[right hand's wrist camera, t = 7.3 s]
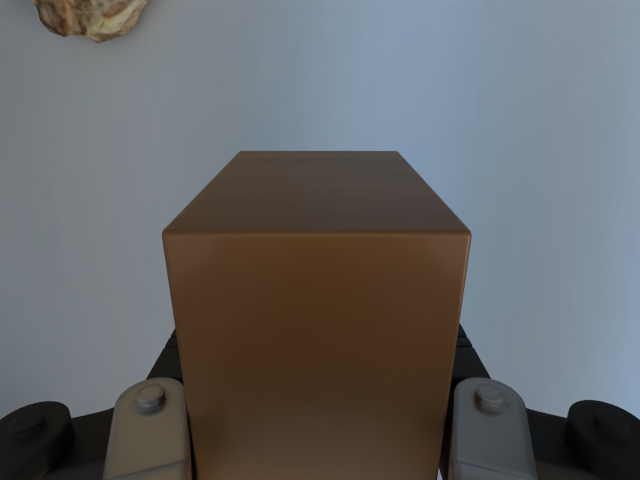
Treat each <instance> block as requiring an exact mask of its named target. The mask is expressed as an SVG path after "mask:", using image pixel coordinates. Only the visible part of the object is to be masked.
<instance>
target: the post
mask: <svg viewBox="0 0 640 480" xmlns="http://www.w3.org/2000/svg"><path fill="white" fill-rule="evenodd" d="M471 237H472V234H471V231H470V230H469V229H468V228H467V227H466V226H465V225H464V223H463V222H462V221H461V220H460V219H459V218H458V217H457V216H456V215H455V214H454V213H453V211H452V210H451V209H450V208H449V207H448V206H447V205H446V204H445V203H444V202H443V201H442V199H441V198H440V197H439V196H438V195H437V194H436V193H435V192H434V191H433V190H432V188H431V187H430V186H429V185H428V184H427V183H426V182H425V181H424V180H423V179H422V178H421V176H420V175H419V174H418V173H417V172H416V171H415V170H414V169H413V168H412V167H411V166H410V164H409V163H408V162H407V161H406V160H405V159H404V158H403V157H402V156H401V155H400V154H399V152H397V151H240V152H239V153H238V154H237V155H236V156H235V157H234V158H233V159H232V160H231V161H230V162H229V163H228V164H227V165H226V166H225V167H224V168H223V169H222V170H221V171H220V172H219V173H218V174H217V175H216V176H215V177H214V179H213V180H212V181H211V182H210V183H209V184H208V185H207V186H206V187H205V188H204V189H203V190H202V191H201V192H200V193H199V194H198V195H197V196H196V197H195V198H194V199H193V200H192V201H191V202H190V203H189V204H188V205H187V206H186V207H185V208H184V210H183V211H182V212H181V213H180V214H179V215H178V216H177V217H176V218H175V219H174V220H173V221H172V222H171V223H170V224H169V225H168V226H167V227H166V228H165V229H164V230H163V232H162V240H163V247H164V254H165V260H166V267H167V274H168V281H169V287H170V294H171V301H172V308H173V315H174V321H175V328H176V335H177V342H178V348H179V355H180V362H181V369H182V376H183V382H184V389H185V396H186V403H187V409H188V416H189V423H190V430H191V437H192V443H193V450H194V457H195V464H196V470H197V477H198V480H437V476H438V469H439V462H440V455H441V448H442V441H443V433H444V426H445V419H446V412H447V405H448V398H449V391H450V384H451V377H452V370H453V363H454V356H455V349H456V342H457V335H458V328H459V321H460V314H461V307H462V300H463V293H464V286H465V279H466V272H467V265H468V258H469V251H470V244H471Z"/></svg>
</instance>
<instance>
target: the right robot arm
mask: <svg viewBox="0 0 640 480" xmlns="http://www.w3.org/2000/svg"><path fill="white" fill-rule="evenodd" d="M439 469H440V473H441V476H442V480H640V420H639V419H638V418H637V417H635V416H634V415H632V414H631V413H629V412H627V411H625V410H623V409H621V408H619V407H617V406H614V405H612V404H609V403H605V402H601V401H595V400H583V401H578V402H576V403H574V404H573V405H572V406H571V407H570V409H569V412H568V416H567V418H564V417H560V416H555V415H551V414H547V413H542V412H538V411H534V410H530V409H528V408H526V407H525V403H524V401H523V399H522V398H521V397H520V395H519V394H518V393H517V392H516V391H514V390H513V389H512V388H510V387H509V386H507V385H505V384H503V383H501V382H499V381H496V380H492V379H491V378H490V376H489V374H488V372H487V371H486V369H485V367H484V365H483V364H482V362H481V360H480V358H479V356H478V355H477V353H476V351H475V349H474V348H472V344H471V342H470V340H469V339H468V338H467V335H466V333H465V332H464V330H463V328H462V326H461V324H460V323H459V328H458V335H457V342H456V349H455V356H454V363H453V370H452V377H451V384H450V391H449V398H448V405H447V412H446V419H445V426H444V433H443V441H442V448H441V455H440V462H439ZM0 480H198V477H197V470H196V464H195V457H194V450H193V443H192V437H191V430H190V423H189V416H188V409H187V403H186V396H185V389H184V382H183V376H182V369H181V362H180V355H179V348H178V342H177V335H176V328H175V330H174V331H173V333H172V335H171V338H169V340H168V342H167V344H166V345H165V348H164V349H163V351H162V352H161V354H160V356H159V358H158V359H157V361H156V363H155V365H154V366H153V368H152V370H151V371H150V373H149V375H148V377H147V378H146V380H144V381H141V382H139V383H137V384H135V385H133V386H131V387H130V388H128V389H127V390H126V391H124V392H123V393H122V394H121V395H120V397H119V398H118V400H117V401H116V404H115V407H114V408H111V409H108V410H105V411H101V412H97V413H93V414H89V415H84V416H80V417H75V418H71V415H70V412H69V409H68V408H67V406H65V405H64V404H62V403H59V402H54V401H46V402H39V403H34V404H31V405H27V406H25V407H22V408H20V409H18V410H15V411H13V412H12V413H10V414H8V415H7V416H5V417H4V418H2V419H1V420H0Z"/></svg>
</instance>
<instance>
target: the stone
mask: <svg viewBox="0 0 640 480" xmlns="http://www.w3.org/2000/svg"><path fill="white" fill-rule="evenodd" d="M31 1H32V2H33V3H34V5H35V6H36V7H37V9H38V13H39V17H40V20H41V22H42V23H43V25H44V26H45V27H46V28H47V29H48V30H49V31H50V32H52V33H55V34H58V35H60V36H63V37H67V36H70V35H72V34H73V35H79V36H85V37H90V38H91V39H92V40H94V41H95V42H96V43H101V42H103V41H106V40H109V39H111V38H115V37H118V36H121V35H124V34H126V33H128V32H129V31H130V30H131V29H132V28H133V27H134V26H135V25H136V24H137V22H138V21H139V16H140V11H141V10H142V8H143V7H144V5H145V4H146V2H147V1H148V0H31Z"/></svg>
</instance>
